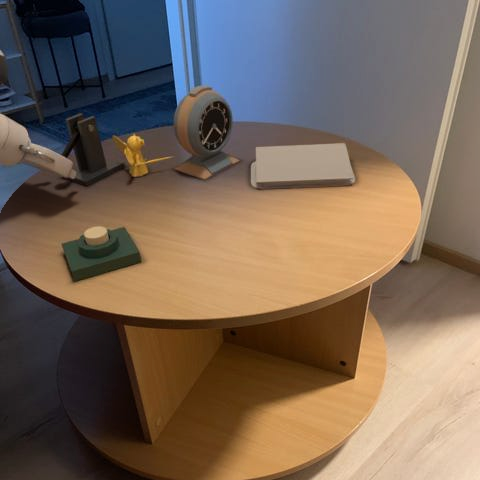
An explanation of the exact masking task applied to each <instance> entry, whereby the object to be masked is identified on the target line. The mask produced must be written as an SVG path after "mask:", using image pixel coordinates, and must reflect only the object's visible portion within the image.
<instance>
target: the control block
mask: <svg viewBox="0 0 480 480" xmlns="http://www.w3.org/2000/svg"><path fill="white" fill-rule="evenodd" d="M106 229H107V232H108V236H109V241H108V242H106V243H105V244H102V245H98V246H89V245H87V243H86V240H85V236H84V233H83V234H82V235H80V236H79V238H77V239H73V240H69V241H66V242H61V247H62V250H63V254H64V256H65V258H66V261H67V264H68V266H69V269H70V272H71V274H72V277H73V280H74V282H78V281H80V280H84V279H88V278H92V277H94V276H98V275H102V274H104V273H108V272H111V271H115V270H118V269H122V268H125V267H129V266H132V265H135V264H139V263H142V261H143V260H142V256H141V253H140V250H139V248H138V247H137V245H136V243H135V241H134V240H133V238H132V236H131V235H130V233H129V231H128V230H127V228H126V226H123V227H118V228H114V229H110V228H106Z"/></svg>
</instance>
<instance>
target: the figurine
mask: <svg viewBox="0 0 480 480" xmlns="http://www.w3.org/2000/svg"><path fill="white" fill-rule="evenodd" d="M111 137H112V140H113V142H114V145H115V146H116V147H117V148H118V150H119V151H120V152H121V153H122V154H123V155H124V156H125V158H126V159H127V162H128V163H129V165H130V168H129V171H128V173H129V174H130V175H131V177H134V178H135V177H142V176H144V175H147V174H148V173H149V170H148V168H147V167H148V165H147V164H154V163H156V162H160V161H161V162H162V161H164V160H167V159H172V158H174V157H175V156H166V157H161V158H155V159H151V160H148V161H146V160H147V158H145V159H144V157H143V153H142V151H141V149H142V147H145V146H146V144H145V140H144V139H143V138H142V139H141V136H138V135H136V134H135V132H133V134H132V135H131V136H130V137H128V138H127V140H126V142H123V141H122V140H121V139H120V138H119V137H117V136H116V135H113V134H112V135H111Z"/></svg>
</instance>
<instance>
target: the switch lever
mask: <svg viewBox="0 0 480 480" xmlns="http://www.w3.org/2000/svg"><path fill="white" fill-rule="evenodd" d="M84 119H86V117H84V118H81V117H78V119H77V121H76V122H75V124H74V126H73V128H74V129H75V130H76V131H75V133H74V134H73V136H72V138H70V139H69V141H68V142H67V144H66V146H65V148H64V150H63V151H62V153H61V154H60V155H61V156H63V157H65V158H67V159H68V158H69V156H70V154H71V153H72V151H73V150H74V149H73V148H74V146H75V144H76V142H77V141H78V139H79V137H80V132H79V128H78V124H77V122H79V121H82V120H84Z"/></svg>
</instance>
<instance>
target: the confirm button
mask: <svg viewBox="0 0 480 480" xmlns="http://www.w3.org/2000/svg"><path fill="white" fill-rule="evenodd" d="M107 229H108V228H106V227H104V226H93V227H89V228H88V229H86V230H85V231H84V233H83V234H84V236H85V240H86V243H87V245H89V246H98V245H102V244H105V243H106V242H108V241H109V236H108V232H107Z"/></svg>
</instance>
